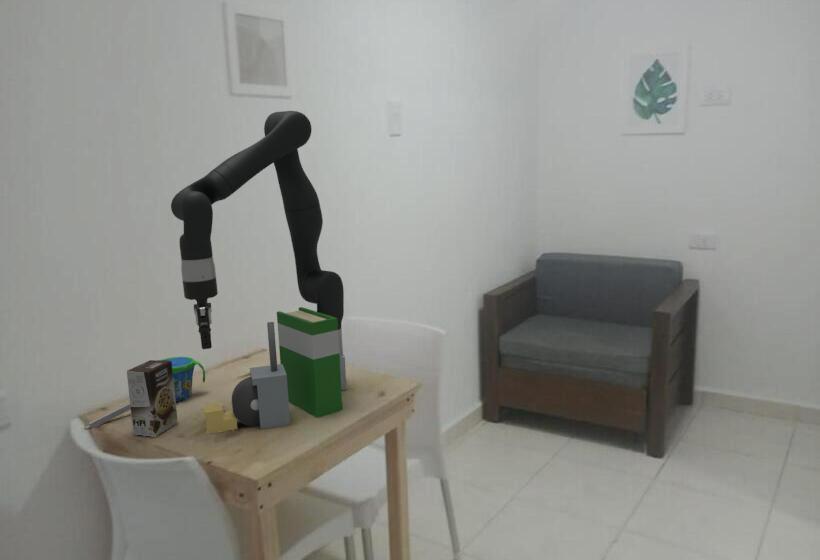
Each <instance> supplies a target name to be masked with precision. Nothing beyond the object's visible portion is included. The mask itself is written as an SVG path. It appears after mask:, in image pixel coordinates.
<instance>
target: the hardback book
mask: <svg viewBox="0 0 820 560" xmlns="http://www.w3.org/2000/svg"><path fill="white" fill-rule="evenodd" d="M276 322H277V335H278V346H279V348H278V349H279V359H280V364H283V366H284V369H285V372H286V374H287V386H288V400H289V404H291V405H293V406H295V407H297V408H298V409H301V410H302V411H304V412H305V413H308V414H310V415H312V416H313V417H315V418H317V419H319V418H322V417H324V416H327V415H332V414H333V413H337V412H338V413H339V412H340V411H343V410H344V409H343V394H342V391H343V390H341V372H340V355H339V337H338V320H337V318H335V317H332V316H329V315H326V314H322V313H319V312H317V310H312V309H309V308H307V307H303V306H300V307H298V310H294V311H291V312H283V311H280V310H278V311H276Z"/></svg>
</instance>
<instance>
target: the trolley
mask: <svg viewBox="0 0 820 560" xmlns="http://www.w3.org/2000/svg"><path fill="white" fill-rule="evenodd" d="M266 324H267V326H266V327H267V328H266V329H267V340H268V350H269V352H268V353H269V365H264V366H255V367H249V372H250V373H249V374H250V376H249V377H245V378H244V379H242V380H240V381H239V382H238V383H237V384H236V386H235V387H234V389H233V391H232V392H231V393H232V394H231V406H232V411H233V412H234V415H235V417H236V418H237V420H238V422H240V423H241V424H243V425H244V426H248V427H259V428H260V430H263V429H270V428H276V427H284V426H290V425H291V418H290V417H291V414H290V403H289V400H288V386H287V374H286V372H285V369H284V366H283V364H278V359H277V358H278V356H277V347H276V345H277V344H276V333H275V330H276V329H275V322H274V321H268V322H267V323H266Z"/></svg>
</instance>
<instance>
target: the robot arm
mask: <svg viewBox="0 0 820 560" xmlns="http://www.w3.org/2000/svg"><path fill="white" fill-rule="evenodd" d="M263 131H264V137H263V138H261V139H260V140H258V141H256V142H255V143H254V144H252V145H250V146H249V147H247V148H244V149H242V150H240V151H238V152H236V153H235V154H233V155H231V156H230V157H228V158H226V159H225V160H223V161H222V162H221V163H220V164H219V165H217V166H215V168H213V169H212V170H210V171H209V172H208V173H207V174H206V175H205V176H203V177H201V178H199V179H198V180H196V181H194V182H193V183H191V184H188V185H187V186H185V187H184V188H183V189H181V190H180V191H179V192H177V193H176V194H175V195H174V197H173V198H172V200H171V203H170V209H171V212H172V214H173V215H174V217H175V218H176V219H178V220H180V221H183V234H181V235H180V237H179V250H180V251H179V252H180V260H181V261H180V262H181V265H180V267H181V269H180V270H181V278H182V286H183V295H184V298H185V299H186V300H190V301H196V303H195V304H193V313H194V315H195V323H196V324H195V325H197V326H198V333H199V336H200V344H201V345H200V346H201V349H202V350H208V349H209V350H210V349H211V348H212V346H213V345H212V336H211V335H212V333H211V331H212V328H211V326H210V325H211V324H212V322H213V321H212V312H213V311H212V303H211V302H208V299H211V298H215V297H217V295H218V284H217V283H218V282H217V273H216V267H215V266H216V265H215V262H214V257H213V256H214V255H213V247H212V240H211V236H212V231H213V219H214V218H213V217H214V214H213V213H214V212H213V206H212V205H213V204H215V203H216V202H219V201H224V200H226V199H227V198H229V197H230V196H232V195H233V194H234V193H236V192H237V191H238V190H239V189H241V188H242V187H243V186H244V185H245V184H247V183H248V182H249V181H251V180H252V179H253V178H254V177H255V176H257V175H258V174H259V173H261V172H262V171H264V170H265V169H266V168H267V167H269V166H270V165H272V164H273V165H274V168H275V172H276V176H277V181H278V186H279V189H280V196H281V199H282V203H283V210H284V215H285V219H286V222H287V226H288V230H289V236H290V239H291V245H292V250H293V254H294V262H295V269H296V270H295V272H296V280H297V286H298V292H299V294H300V296H301V297H302V299H303V301H306V302H308V303H311V304H316V312H319V313H322V314H326V315H329V316H332V317H335V318H337V320H338V337H339V355H340V372H341V390H342V391H345V390H347V371H346V357H345V355H344V349H343V348H344V347H343V333H342V332H343V331H342V330H343V329H342V322H343V318H344V311H345V309H344V306H345V305H344V304H345V301H344V300H345V299H344V298H345V297H344V296H345V293H344V285H343V280H342V277H341V276H340V275H339V274H338V273H337V272H335V271H331V270H323V269H322V268H321V265H320V262H319V256H318V244H319V240H320V236H321V234H322V229H323V225H324V224H323V214H322V209H321V205H320V204H321V203H320V199H319V196H318V194H317V191H316V189H315V187H314V186H313V183H312V182H311V180H310V178H309V177H308V175H307V174H306V172H305V171H304V168H303V165H302V163H301V160H300V159H301V158H300V154H299V150H298V149H299V148H301V147H304V145H306V144H307V143H308V141H309V140H310V138H311V136H312V135H311V134H312V125H311V121H310V119H309V118H308V116H306V115H305V114H304V113H303V112H301V111H296V110H286V111H285V110H284V111H275V112H272V113H270V114H269V115H268V116H267V117H266V120H265V123H264V127H263Z"/></svg>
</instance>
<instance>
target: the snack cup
mask: <svg viewBox="0 0 820 560" xmlns="http://www.w3.org/2000/svg"><path fill="white" fill-rule="evenodd" d="M162 360H166V361H172V371H173V380H174V390H175V400H176V402H178V401H185V400H187V399H188V398H190V397H191V396H192V392H193V376H194V370H195V366H196V365H198V366H199V367H200V368H201V370H202V383H205V382H206V370H205V368H204V366H203V365H202V363H201V362H200V361H198V360H195V359H194V358H193V357H189V356H174V357H167V358H164V359H162Z"/></svg>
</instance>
